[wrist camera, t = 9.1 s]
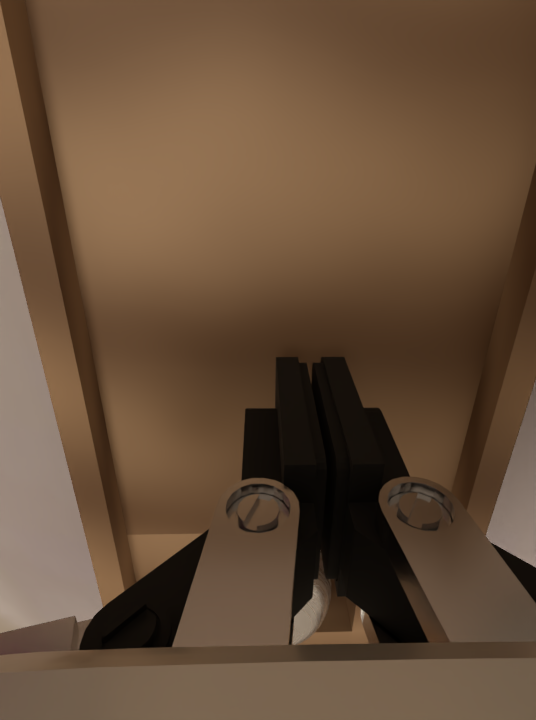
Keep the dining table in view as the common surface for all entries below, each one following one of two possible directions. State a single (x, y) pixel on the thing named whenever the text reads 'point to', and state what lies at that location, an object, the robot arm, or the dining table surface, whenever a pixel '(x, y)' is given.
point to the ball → (313, 609)
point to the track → (269, 239)
